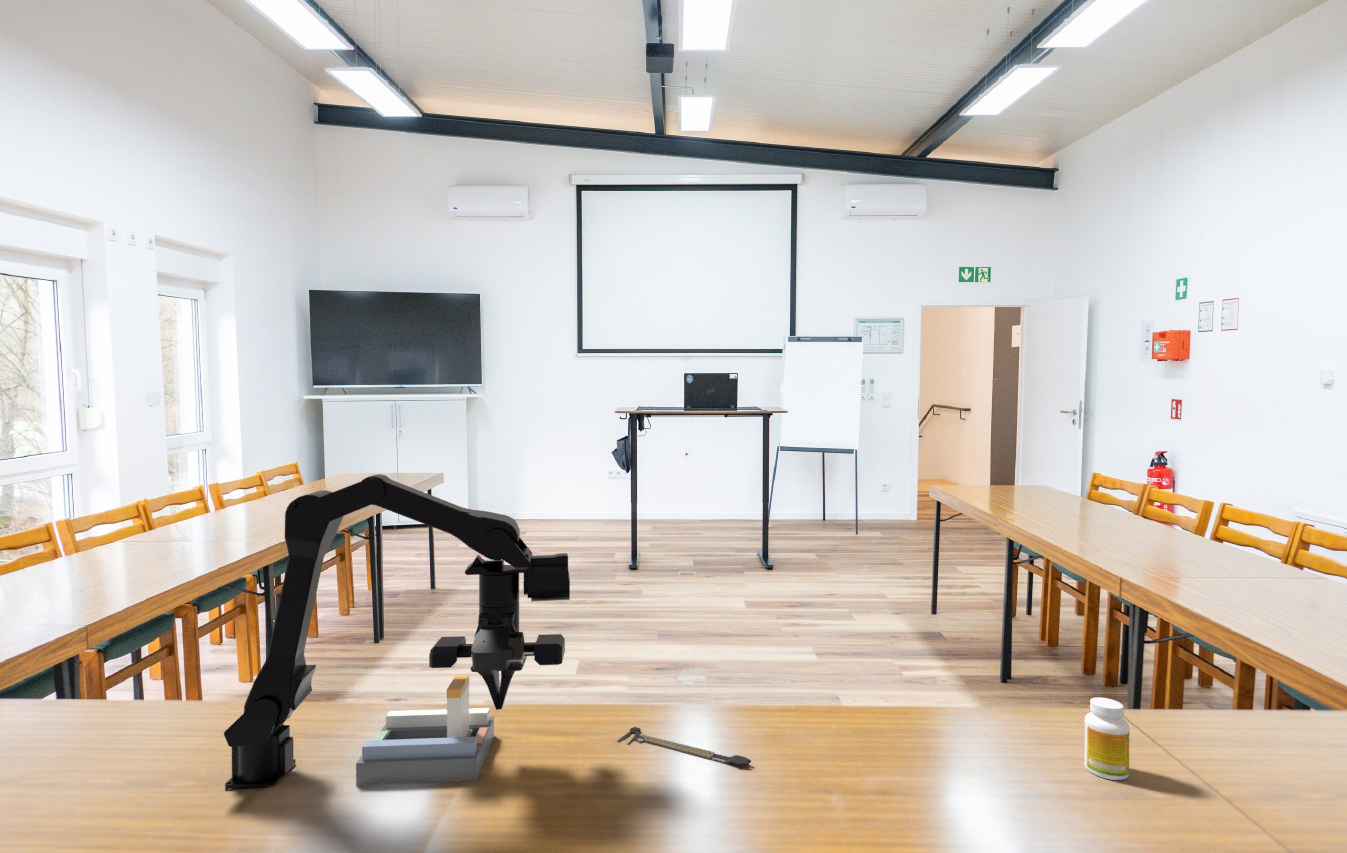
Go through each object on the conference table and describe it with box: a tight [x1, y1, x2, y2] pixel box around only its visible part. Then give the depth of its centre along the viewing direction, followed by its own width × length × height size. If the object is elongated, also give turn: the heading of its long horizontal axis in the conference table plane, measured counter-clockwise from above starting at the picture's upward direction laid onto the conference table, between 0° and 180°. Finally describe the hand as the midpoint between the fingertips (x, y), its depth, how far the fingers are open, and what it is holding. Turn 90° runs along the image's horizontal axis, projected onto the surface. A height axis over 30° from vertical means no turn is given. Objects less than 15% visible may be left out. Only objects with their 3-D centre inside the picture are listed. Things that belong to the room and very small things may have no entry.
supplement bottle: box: [1083, 696, 1131, 781], centre depth 96 cm, size 5×5×10 cm
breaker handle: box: [446, 674, 473, 738], centre depth 99 cm, size 3×5×9 cm, turn 5°
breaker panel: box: [355, 707, 495, 786], centre depth 99 cm, size 16×13×5 cm
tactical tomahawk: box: [616, 726, 752, 766], centre depth 100 cm, size 21×7×1 cm, turn 59°
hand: (499, 708), depth 100 cm, fingers closed
